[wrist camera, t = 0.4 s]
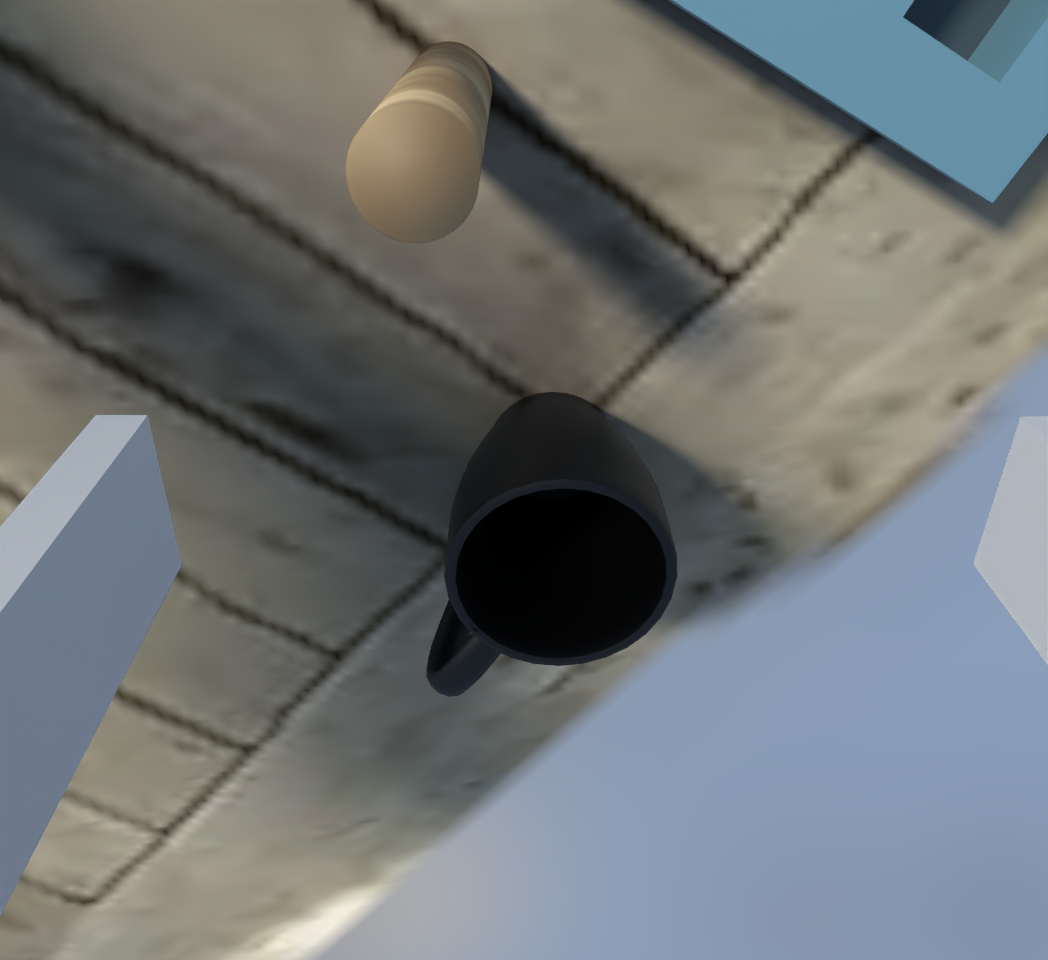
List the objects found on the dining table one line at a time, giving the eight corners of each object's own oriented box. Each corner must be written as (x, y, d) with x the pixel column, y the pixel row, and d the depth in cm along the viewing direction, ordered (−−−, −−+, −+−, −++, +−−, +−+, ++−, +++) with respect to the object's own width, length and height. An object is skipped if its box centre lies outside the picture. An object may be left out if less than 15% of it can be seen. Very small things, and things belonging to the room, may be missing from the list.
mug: (373, 517, 42) (338, 658, 34) (538, 324, 37) (545, 433, 29) (513, 605, 45) (512, 755, 36) (684, 435, 40) (727, 564, 32)
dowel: (394, 106, 33) (325, 204, 21) (429, 24, 32) (377, 79, 20) (469, 147, 34) (443, 265, 22) (507, 69, 32) (502, 148, 20)
